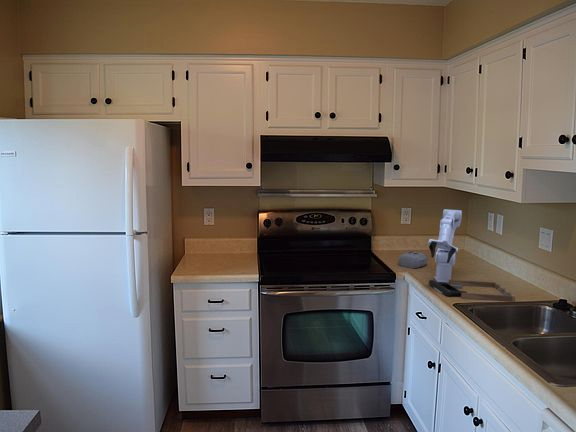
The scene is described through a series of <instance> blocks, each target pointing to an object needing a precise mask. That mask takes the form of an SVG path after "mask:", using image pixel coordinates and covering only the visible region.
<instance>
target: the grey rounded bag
mask: <svg viewBox="0 0 576 432" xmlns="http://www.w3.org/2000/svg"><path fill="white" fill-rule="evenodd" d="M428 260H429V259H428V256H427V255H426V254H425V253H422V252H419V251H408V252H405V253H402V254H400V255H399V257H398V264H399V266H401V267H403V268H408V269H419V268H422V267H424V266H426V265H427V263H428Z"/></svg>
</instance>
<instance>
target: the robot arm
mask: <svg viewBox="0 0 576 432" xmlns="http://www.w3.org/2000/svg"><path fill="white" fill-rule="evenodd" d="M462 216H463V210H461V209H460V210H459V209H447V208H445V209H443V211H442V219H440V221H439V222H440V223H439V234H438V238H437V239H432V238H429V240H428V241H427V245H428V248H429V250H430V255H431V258H434V261H435V263H436V268H435V275H434V276H433V278H434V280H435V281H436V282H437V283H447V284H449V280H452V269H453V266H454V265H455V264H456V255H457V253H458V252H459V248H458V247H456V246H454V245H453V241H454V237H455V231H456V229H457V228H459V227H460V226H461V223H462ZM436 248H437V250H436Z"/></svg>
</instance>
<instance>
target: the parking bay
mask: <svg viewBox="0 0 576 432" xmlns="http://www.w3.org/2000/svg"><path fill="white" fill-rule="evenodd" d="M448 284H449V285H461V286H463V287H464V286H465V287H483V288H495V289H496V290H497V291H498V292H500V293H501V294H491V293H473V292H467V293H461V296H460V298H461V299H465V300H466V299H467V300H484V301H485V300H486V301H500V302H501V301H502V302H516V296H515V295H514V294H513V293H511V292H510V291H509V290H507V289H506V288H505V287H504V286H502V285H501V284H500V283H499V282H495V281H481V280H463V279H451V280H449V283H448Z"/></svg>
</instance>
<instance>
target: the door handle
mask: <svg viewBox="0 0 576 432" xmlns="http://www.w3.org/2000/svg"><path fill="white" fill-rule="evenodd" d="M428 284H429V286H431V287H433V289H434V290H435V291H437V292H439V293H440V294H443V295H445V296H447V297H461V293H468V292H467V291H465V290H463V289H464V288H463V287H464V286H463V285H449V283H448V282H437V281H436V280H435V279H434V280H433V279H430V280H428Z"/></svg>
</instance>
